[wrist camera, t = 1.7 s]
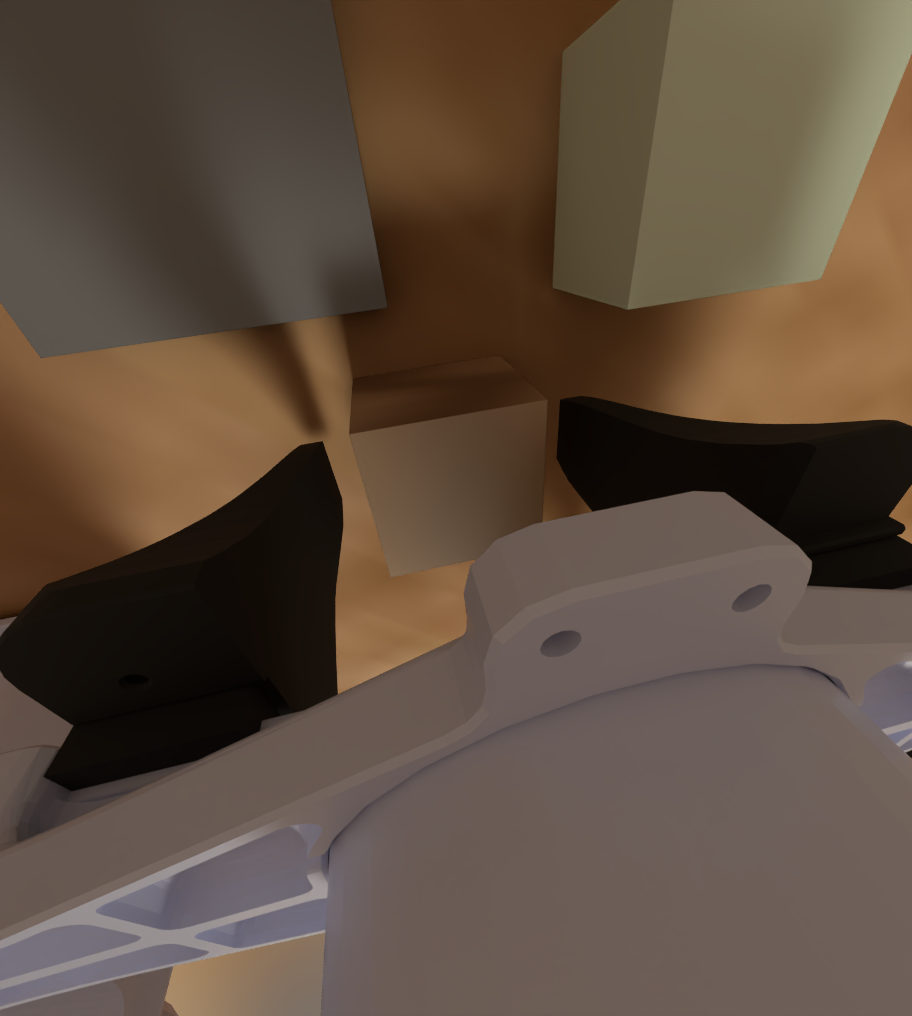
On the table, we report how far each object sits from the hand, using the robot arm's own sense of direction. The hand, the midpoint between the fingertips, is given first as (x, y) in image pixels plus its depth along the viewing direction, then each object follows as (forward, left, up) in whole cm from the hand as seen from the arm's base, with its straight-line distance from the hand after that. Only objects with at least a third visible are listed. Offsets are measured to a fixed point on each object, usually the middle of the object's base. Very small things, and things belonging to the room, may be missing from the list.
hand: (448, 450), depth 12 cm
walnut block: (0, 0, -2) cm, 2 cm away
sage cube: (+6, +6, -2) cm, 9 cm away
